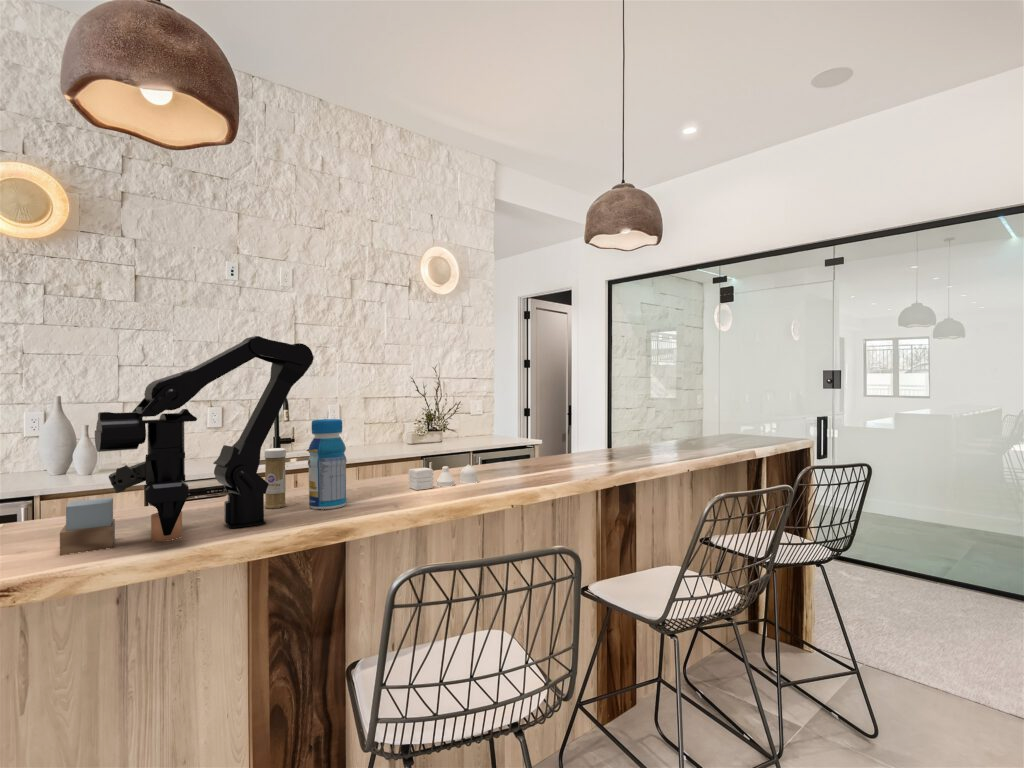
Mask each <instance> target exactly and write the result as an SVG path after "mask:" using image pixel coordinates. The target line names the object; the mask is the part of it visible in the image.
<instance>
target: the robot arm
mask: <svg viewBox="0 0 1024 768" xmlns="http://www.w3.org/2000/svg"><path fill="white" fill-rule="evenodd" d="M255 358H257V359H258V360H259V359H260V360H261V361H264V362H267V363H271V368H270V378H269V381H268V383H267V384H266V387H265V389H264V391H262V394H261V396H260V398H259V400H258V401H257V404H256V406H255V408H254V409H253V412H252V414H251V415H250V417H249V419H248V421H247V422H246V425H245V427H244V428H243V431H242V433H241V434H240V436H239V438H238V440H237V441H236V442H235V443H234V444H233V445H232V446H231V445H224V444H223V446H222V448H221V450H220V454H219V456H217V457H218V458H217V459H216V460H215V461H214V462H213V463H212V464H213V465H215V467H214V470H213V475H214V477H215V479H216V481H217V482H218V483H219V484H221V485H223V487H224V490H225V492H226V493H227V500H225V501H224V502H223V503H224V505H223V506H224V510H223V511H224V514H223V515H224V517H223V518H224V524H226V525H227V526H228V528H229V529H235V528H236V529H237V528H245V527H251V526H258V525H265V524H266V523H267V522H266V520H265V501H264V500H265V498H264V495H265V493H266V490H267V487H268V483H267V482H266V481H265V479H264V478H262V477H261V476H260V474H258V470H259V467H260V463H261V450H262V446H263V445H264V442H265V440H266V439H267V436H268V435H269V432H270V430H271V429H272V427H273V425H274V423H275V421H276V420H277V417H278V415H279V413H280V411H281V409H282V407H283V405H284V402H285V401H286V400H287V397H288V396H289V393H290V391H291V389H292V387H293V386H294V385H296V384H297V382H298V381H299V380H300V379H302V377H303V376H304V375H305V374H306V373H307V371H308V370H309V369H310V367H311V366H312V364H313V362H314V358H315V357H314V355H313V352H312V349H311V348H310V347H309V346H308V345H306V344H304V343H300V342H298V343H292V344H290V343H288V342H282V341H277V340H273V339H268V338H264V337H263V336H259V335H254V336H249V337H246V338H244V339H243V340H242V341H241V342H239V343H237V344H235V345H234V346H232V347H230V348H228V349H226V350H224V351H222V352H221V353H218V354H217V355H215V356H212V357H211V358H209V359H207V360H205V361H203V362H202V363H199V364H198V365H196V366H194V367H192V368H189V369H188V370H184V371H180V372H178V373H174V374H171V375H167V376H165V377H162V378H159V379H157V380H153V381H151V382H150V383H149V384H148V385H147V386H145V390H144V398H143V399H141V401H140V402H139V403H138V404H137V406H136V407H135V408H134V409H133V410H132V411H131V412H111V411H100V412H98V413H97V421H96V428H95V429H96V430H94V444H95V445H94V446H95V449H96V452H97V453H100V452H103V453H104V452H116V451H125V450H126V451H128V450H129V451H130V450H137V449H139V446H140V445H142V444H144V443H145V442H146V438H147V454H145V460H144V461H142V462H139V463H136V464H134V465H130V466H128V465H127V464H125V465H124V466H122V467H117V468H116V470H115V471H114V472H112V473H110V474H109V475H108V479H109V481H110V484H111V486H112V487H113V490H114V492H115V494H118V493H121V492H124V491H126V489H128V488H130V487H134V486H136V485H139V484H142V483H143V482H145V485H146V487H145V503H147V504H149V505H150V506H152V507H154V508H155V509H156V510H157V513H158V515H159V519H160V523H161V527H162V531H163V535H164V536H167V535H171V533H172V531H173V528H174V526H175V524H176V521H177V519H178V517H179V515H180V512H181V511H183V508H184V505H185V503H186V500H187V499H188V498H189V497H190V496H189V495H190V494H189V493H190V492H189V490H190V489H189V488H190V487H189V484H188V483H186V471H185V466H186V465H185V463H186V462H185V460H186V451H185V423H187V422H197V420H198V418H197V417H196V416H195V415H193V414H192V413H191V412H190V411H189V410H188V408H182V409H181V410H180V411H179V412H175V413H173V412H172V413H169V412H167V413H163V412H164V411H175V410H177V409H180V408H181V407H183V406H184V405H186V404H187V403H188V402H189V401H191V400H192V399H193V398H194V397H195V396H197V394H199V393H200V391H201V390H202V389H204V387H206V386H208V385H209V384H211V383H213V382H214V381H216V380H218V379H219V378H221V377H223V376H224V375H226V374H229V373H230V372H231V371H234V370H235V369H237V368H239V367H240V366H242V365H245V364H247V363H248V362H250V361H251V360H253V359H255ZM159 415H160V416H159ZM156 416H159V419H158V418H157V419H143V418H145V417H146V418H147V417H156ZM146 424H147V427H146ZM146 436H147V437H146Z"/></svg>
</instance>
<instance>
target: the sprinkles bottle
mask: <svg viewBox="0 0 1024 768" xmlns="http://www.w3.org/2000/svg"><path fill="white" fill-rule="evenodd" d="M286 457H287V449H286V448H283V447H277V448H276V447H273V448H266V449H265V450H264V459H265V462H264V464H265V466H264V467H265V469H264V471H265V472H264V475H265V476H264V478H265V479H264V480H265V481H266V482H267V483H268V487H267V490H266V493H265V494H264V495H265V498H264V500H265V501H264V508H266V509H272V508H274V509H281V508H283V507H285V506H286V505H287V503H286V490H287V489H286ZM280 507H281V508H280Z"/></svg>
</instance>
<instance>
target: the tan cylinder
mask: <svg viewBox="0 0 1024 768" xmlns="http://www.w3.org/2000/svg"><path fill="white" fill-rule="evenodd" d="M150 521H151V522H150V532H151V533H150V541H151V542H154V541H163V542H168V541H167V540H170V541H173V540H172V539H175V540H177V539H176V538H178V539H180V538H179V537H181V536H182V537H183V510H181V512H180V515H179V517H178V519H177V521H176V524H175V526H174V528H173V531H172V533H171V535H167V536H164V535H163V531H162V527H161V523H160V519H159V515H158V512H155V513H152V514H151V515H150ZM182 537H181V538H182Z"/></svg>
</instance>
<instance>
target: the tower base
mask: <svg viewBox="0 0 1024 768" xmlns="http://www.w3.org/2000/svg"><path fill="white" fill-rule="evenodd" d="M115 529H116V518H113V521H112V524H111V526H104V527H96V528H87V529H79V530H71V531H66V524H65V525H64V526H63V528H62V529H61V530H60V532H59V556H64V555H63V554H67V555H71V554H70V553H74V554H78V552H81V553H87V552H86V551H88V552H94V551H93V550H96V551H100V550H99V549H103V550H107V549H106V548H110V549H113V548H114V547H113V546H114V543H115V541H114V540H116V530H115ZM112 547H113V548H112Z"/></svg>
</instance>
